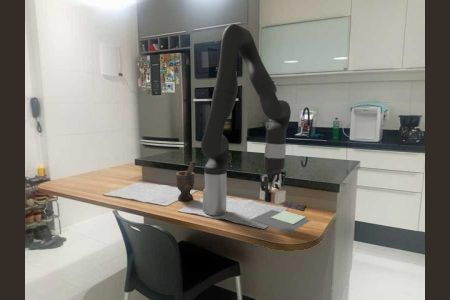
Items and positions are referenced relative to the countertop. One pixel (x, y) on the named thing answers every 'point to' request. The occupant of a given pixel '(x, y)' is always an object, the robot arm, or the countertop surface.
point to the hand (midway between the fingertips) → (272, 199)
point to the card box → (274, 195)
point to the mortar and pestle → (186, 182)
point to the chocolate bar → (294, 206)
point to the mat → (281, 220)
